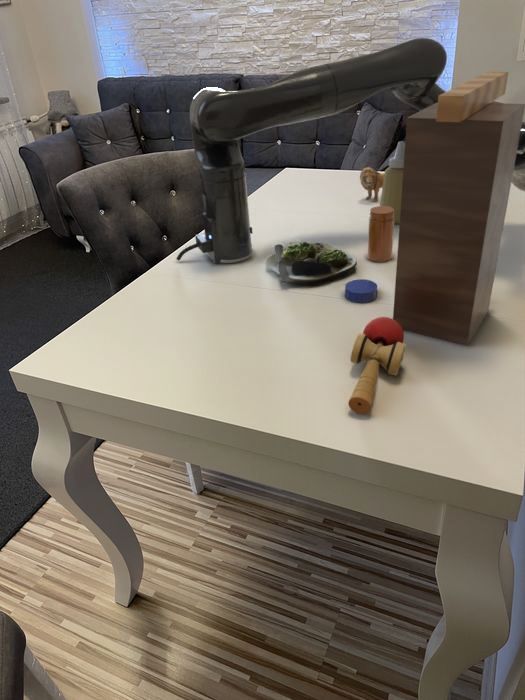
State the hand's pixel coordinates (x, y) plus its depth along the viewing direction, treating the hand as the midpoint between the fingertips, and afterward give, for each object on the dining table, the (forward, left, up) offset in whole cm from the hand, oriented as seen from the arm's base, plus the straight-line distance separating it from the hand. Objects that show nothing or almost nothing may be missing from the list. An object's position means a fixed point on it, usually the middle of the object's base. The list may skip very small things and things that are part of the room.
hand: (500, 128), depth 84 cm
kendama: (-32, -17, -27) cm, 45 cm away
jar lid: (-21, +6, -25) cm, 33 cm away
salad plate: (-24, +21, -27) cm, 42 cm away
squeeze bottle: (+6, +36, -27) cm, 45 cm away
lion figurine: (+12, +52, -27) cm, 60 cm away
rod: (-11, -6, +5) cm, 14 cm away
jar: (-9, +19, -27) cm, 34 cm away
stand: (-14, -8, -27) cm, 31 cm away
